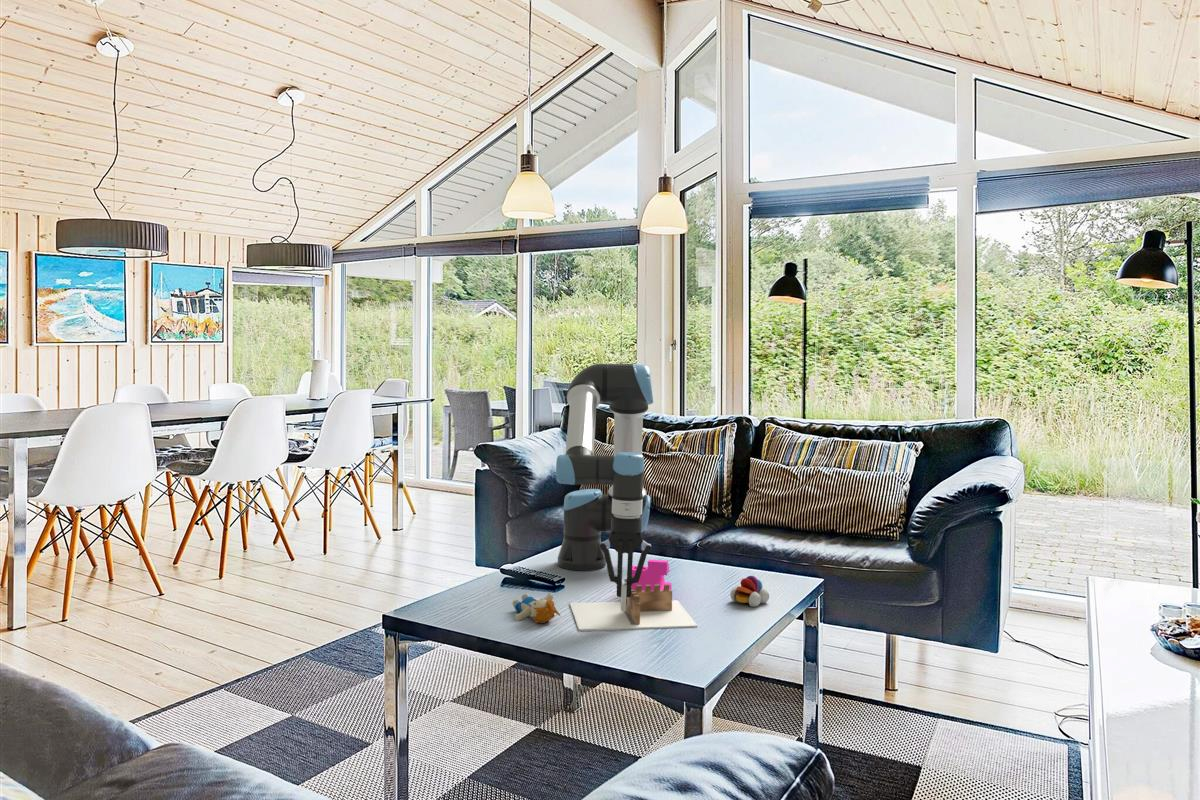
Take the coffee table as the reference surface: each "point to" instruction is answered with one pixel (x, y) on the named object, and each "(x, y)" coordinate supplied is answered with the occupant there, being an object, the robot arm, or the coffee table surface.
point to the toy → (535, 608)
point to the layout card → (627, 617)
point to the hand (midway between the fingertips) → (623, 609)
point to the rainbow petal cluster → (750, 592)
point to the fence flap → (633, 606)
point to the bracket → (652, 574)
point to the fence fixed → (654, 598)
